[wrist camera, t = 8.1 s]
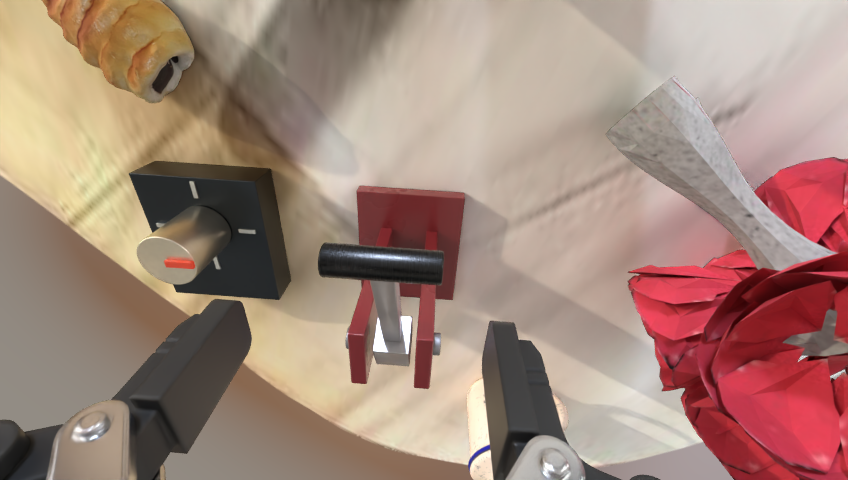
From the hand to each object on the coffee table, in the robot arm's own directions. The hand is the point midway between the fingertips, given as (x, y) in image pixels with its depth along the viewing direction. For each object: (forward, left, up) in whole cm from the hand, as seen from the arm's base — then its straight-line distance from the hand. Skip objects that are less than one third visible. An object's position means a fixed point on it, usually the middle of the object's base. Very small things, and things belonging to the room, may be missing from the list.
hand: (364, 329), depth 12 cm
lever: (+4, 0, -7) cm, 8 cm away
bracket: (+9, 0, -20) cm, 22 cm away
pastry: (-7, -20, -20) cm, 29 cm away
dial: (+7, -17, -17) cm, 25 cm away
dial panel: (+9, -17, -20) cm, 28 cm away
